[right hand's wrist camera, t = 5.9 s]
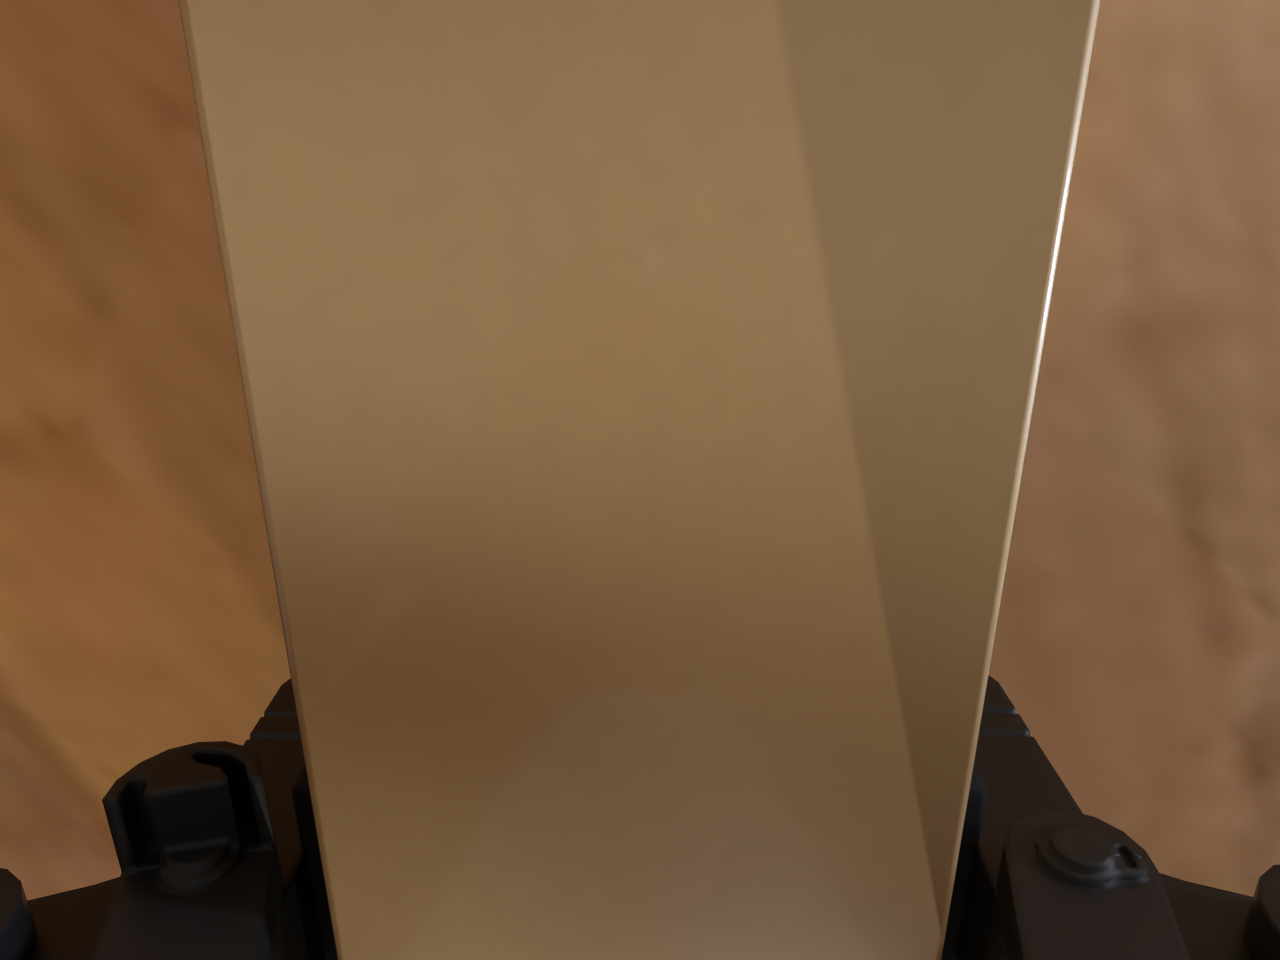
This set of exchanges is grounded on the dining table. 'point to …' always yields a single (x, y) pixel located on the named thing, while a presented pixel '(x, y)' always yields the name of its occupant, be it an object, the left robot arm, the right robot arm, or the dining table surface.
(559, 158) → the bar
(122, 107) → the dining table surface
